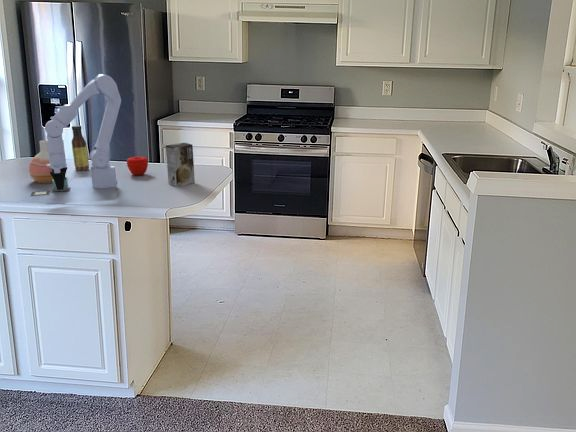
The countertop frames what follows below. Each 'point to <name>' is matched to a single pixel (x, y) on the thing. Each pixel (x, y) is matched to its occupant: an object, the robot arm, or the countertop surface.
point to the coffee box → (180, 164)
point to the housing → (64, 185)
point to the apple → (137, 165)
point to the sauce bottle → (79, 149)
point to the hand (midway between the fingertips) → (61, 187)
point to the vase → (41, 165)
